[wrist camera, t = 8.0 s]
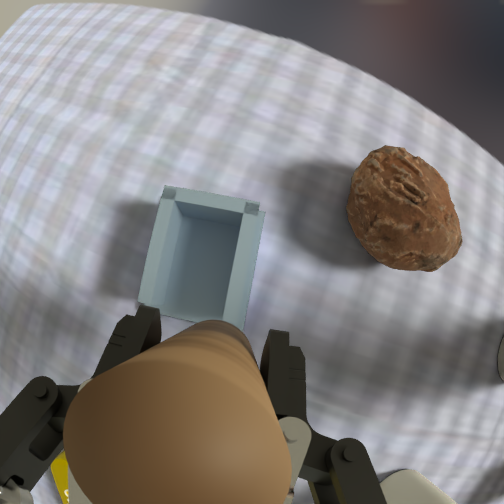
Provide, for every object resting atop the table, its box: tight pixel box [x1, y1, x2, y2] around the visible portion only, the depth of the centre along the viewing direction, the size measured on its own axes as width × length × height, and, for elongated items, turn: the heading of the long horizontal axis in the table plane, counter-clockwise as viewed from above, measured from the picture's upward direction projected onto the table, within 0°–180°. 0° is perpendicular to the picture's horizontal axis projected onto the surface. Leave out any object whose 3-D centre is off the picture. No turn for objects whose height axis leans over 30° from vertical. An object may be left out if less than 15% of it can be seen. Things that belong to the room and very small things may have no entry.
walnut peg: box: [63, 319, 292, 504], centre depth 11 cm, size 4×4×13 cm
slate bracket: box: [137, 185, 265, 332], centre depth 29 cm, size 12×10×6 cm
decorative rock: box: [346, 145, 462, 272], centre depth 28 cm, size 13×11×10 cm
